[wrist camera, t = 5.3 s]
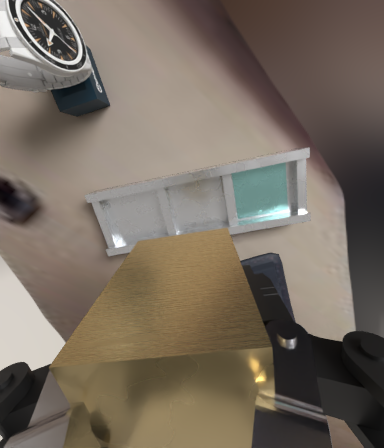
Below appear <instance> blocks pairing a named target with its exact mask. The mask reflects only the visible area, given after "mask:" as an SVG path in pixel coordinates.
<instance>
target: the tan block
mask: <svg viewBox="0 0 384 448" xmlns="http://www.w3.org/2000/svg"><path fill="white" fill-rule="evenodd" d="M49 369H50V371H51V373H52V374H53V376H54V378H55V379H56V381H57V383H58V385H59V386H60V388H61V390H62V392H63V393H64V395H65V397H66V398H67V400H68V402H69V403H75V402H84V404H85V406H86V407H87V409H88V411H89V413H90V425H91V429H92V432H93V434H94V435H95V437H96V439H97V441H98V442H99V444H100V446H101V447H108V448H251V446H252V435H253V424H254V413H255V403H256V397H257V393H259V389H265V388H275V384H274V367H273V350H272V345H271V342H270V340H269V337H268V334H267V332H266V329H265V326H264V324H263V321H262V318H261V316H260V313H259V310H258V308H257V305H256V302H255V300H254V297H253V294H252V292H251V289H250V286H249V284H248V281H247V278H246V276H245V273H244V270H243V268H242V265H241V262H240V260H239V257H238V254H237V252H236V249H235V246H234V244H233V241H232V238H231V236H230V233H229V230H228V228H222V229H215V230H208V231H202V232H195V233H188V234H181V235H175V236H168V237H161V238H155V239H148V240H141V241H138V242H137V243H136V245H135V246H134V248H133V249H132V250H131V252H130V253H129V255H128V256H127V257H126V259H125V260H124V262H123V263H122V265H121V266H120V267H119V269H118V270H117V272H116V273H115V274H114V276H113V277H112V279H111V280H110V281H109V283H108V284H107V286H106V287H105V289H104V290H103V291H102V293H101V294H100V296H99V297H98V298H97V300H96V301H95V303H94V304H93V306H92V307H91V308H90V310H89V311H88V313H87V314H86V315H85V317H84V318H83V320H82V321H81V323H80V324H79V325H78V327H77V328H76V330H75V331H74V332H73V334H72V335H71V337H70V338H69V340H68V341H67V342H66V344H65V345H64V347H63V348H62V350H61V351H60V352H59V354H58V355H57V357H56V358H55V359H54V361H53V362H52V364H51V365H50V366H49Z"/></svg>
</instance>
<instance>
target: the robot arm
mask: <svg viewBox="0 0 384 448" xmlns="http://www.w3.org/2000/svg"><path fill="white" fill-rule="evenodd" d="M242 268H243V270H244V273H245V276H246V278H247V281H248V284H249V286H250V289H251V292H252V294H253V297H254V300H255V302H256V305H257V308H258V310H259V313H260V316H261V318H262V321H263V324H264V326H265V329H266V332H267V334H268V337H269V340H270V342H271V345H272V350H273V367H274V384H275V388H265V389H259V393H257V397H256V403H255V413H254V424H253V435H252V446H251V448H332V442H331V436H330V431H329V425H328V421H327V417H326V415H328V416H331V417H335V418H338V419H341V420H344V421H345V422H346V424H347V425H348V426H349V428H350V429H351V430H352V432H353V433H354V434H355V436H356V437H357V438H358V440H359V441H360V442H361V444H362V445H363V446H364V448H384V338H382V337H380V336H378V335H375V334H373V333H369V332H364V331H353V332H350V333H347V334H346V335H345V336H344V338H343V341H342V342H341V341H335V340H330V339H324V338H319V337H316V336H313V335H311V334H309V333H308V332H307V331H306V330H305V329H304V328H303V327H302V326H301V325H299V324H297V323H295V322H294V320H293V319H292V317H291V315H290V313H289V311H288V310H287V308H286V306H285V304H284V303H283V301H282V299H281V297H280V295H278V292H277V290H276V288H275V287H274V285H273V283H272V281H271V279H270V278H268V277H267V276H266V275H264V274H263V273H259V274H254V273H253V271H252V269H251V266H250V265H242ZM50 365H51V364H49V365H47V366H44V367H41V368H39V369H36V370H34V371H31V369H30V368H29V366H28V364H26V363H25V362H19V363H15V364H12V365H10V366H8V367H6V368H4V369H3V370H1V371H0V435H1V436H2V437H3V439H2V440H1V441H0V448H108V447H101V446H100V444H99V442H98V441H97V439H96V437H95V435H94V434H93V432H92V429H91V425H90V413H89V411H88V409H87V407H86V406H85V404H84V402H75V403H69V402H68V400H67V398H66V397H65V395H64V393H63V392H62V390H61V388H60V386H59V385H58V383H57V381H56V379H55V378H54V376H53V374H52V373H51V371H50V369H49V366H50Z"/></svg>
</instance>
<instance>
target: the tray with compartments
mask: <svg viewBox="0 0 384 448" xmlns="http://www.w3.org/2000/svg"><path fill="white" fill-rule="evenodd" d="M308 157H310V152H309V148H295V149H291V150H286V151H281V152H276V153H272V154H267V155H262V156H258V157H253V158H248V159H244V160H239V161H234V162H229V163H225V164H220V165H215V166H211V167H206V168H201V169H197V170H192V171H187V172H182V173H178V174H173V175H168V176H164V177H159V178H154V179H150V180H145V181H140V182H135V183H131V184H126V185H121V186H117V187H112V188H107V189H103V190H98V191H95V192H92V193H89V194H86V195H85V198H86V201H87V203H92V206H93V208H94V211H95V214H96V216H97V219H98V221H99V224H100V227H101V229H102V232H103V234H104V237H105V240H106V242H107V245H108V248H107V249H106V252H107V254H108V256H113V255H118V254H124V253H130V252H131V250H132V249H133V248H134V246H135V245H136V243H137V242H138V241H141V240H148V239H155V238H161V237H168V236H175V235H181V234H188V233H195V232H202V231H208V230H215V229H222V228H228V230H229V233H230V235H232V234H238V233H244V232H249V231H255V230H261V229H266V228H272V227H278V226H284V225H289V224H295V223H301V222H306V221H310V213H309V212H308V211H307V191H306V158H308Z"/></svg>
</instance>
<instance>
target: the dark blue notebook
mask: <svg viewBox="0 0 384 448" xmlns="http://www.w3.org/2000/svg"><path fill="white" fill-rule="evenodd" d="M240 262H241V265H250V266H251V269H252V271H253V273H254V274H259V273H263V274H264V275H266V276H267V277H268V278H270V279H271V281H272V283H273V285H274V287H275V288H276V290H277V292H278V295H280V297H281V299H282V301H283V303H284V304H285V306H286V308H287V310H288V311H289V313H290V315H291V317H292V319H293V320H294V322H295V318H294V315H293V311H292V307H291V303H290V299H289V294H288V289H287V285H286V280H285V276H284V270H283V265H282V262H281V259H280V257H279V254H275V253H267V254H263V255H259V256H256V257H252V258H249V259H246V260H242V261H240ZM295 323H296V322H295Z"/></svg>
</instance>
